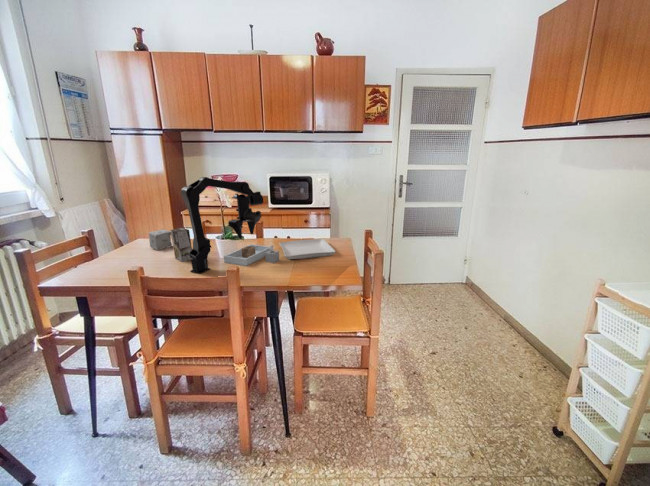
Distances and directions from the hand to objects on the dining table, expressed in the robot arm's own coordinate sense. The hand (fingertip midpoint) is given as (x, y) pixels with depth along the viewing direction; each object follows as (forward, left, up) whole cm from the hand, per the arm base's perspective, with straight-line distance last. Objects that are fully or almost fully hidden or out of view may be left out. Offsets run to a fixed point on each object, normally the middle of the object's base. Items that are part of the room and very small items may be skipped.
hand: (246, 236), depth 156 cm
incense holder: (-4, +62, -12) cm, 63 cm away
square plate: (+20, -24, -12) cm, 34 cm away
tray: (0, 0, -12) cm, 12 cm away
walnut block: (0, 0, -11) cm, 11 cm away
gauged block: (0, -15, -12) cm, 19 cm away
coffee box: (-14, +32, -12) cm, 37 cm away
